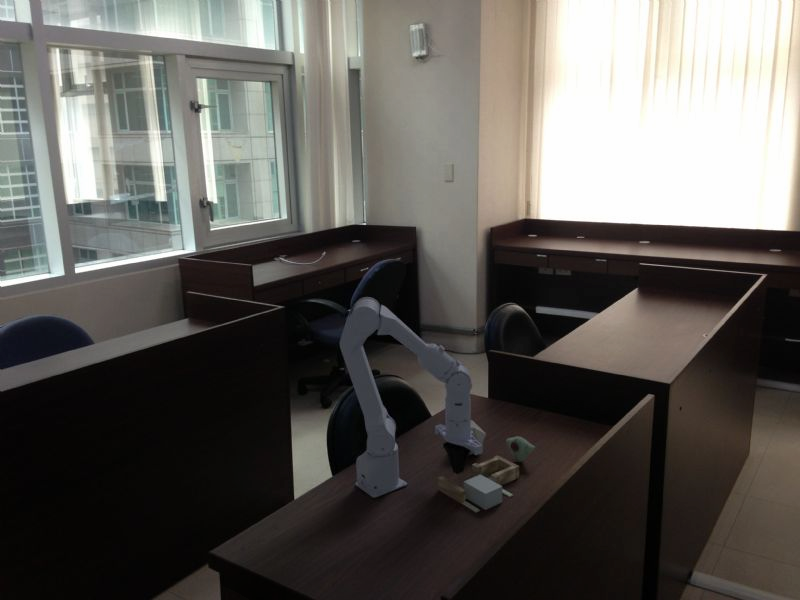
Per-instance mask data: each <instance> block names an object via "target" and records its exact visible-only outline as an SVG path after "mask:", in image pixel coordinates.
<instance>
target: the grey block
mask: <svg viewBox="0 0 800 600" xmlns="http://www.w3.org/2000/svg"><path fill="white" fill-rule="evenodd" d="M463 489H465V490H466V499H467V500H468V501H470V502H472V503H473V504H475V505H476V506H477V507H480V508H482V509H483V510H484V511H486V510H488V509H491V508H493V507H495V506H497V505H499V504H501V503H503V493H502V489H503V485H499V484H497V483H495V482H493V481H491V480H490V479H488V478H486V477H484V476H482V475H478V476H475V477H473V476H472V477H471V478H469V479H466V480H464V481H463Z"/></svg>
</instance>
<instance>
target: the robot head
mask: <svg viewBox="0 0 800 600" xmlns="http://www.w3.org/2000/svg"><path fill="white" fill-rule="evenodd" d="M506 445H507V446H508V447H509V451H510V454H511V455H512V458H513V459H514V460H515V461H516V462H519V463H522V462H524V461H525V460H526V458H527V456H529V455H530V454H531V453H532V452H533V451H534V450H535V449H536V448H537V447H536V446H535V445H533V444H532V443H530V441H528V440H526V439H525V438H523V437H522V436H517V435H516V436H514V437H508V438H506Z"/></svg>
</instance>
